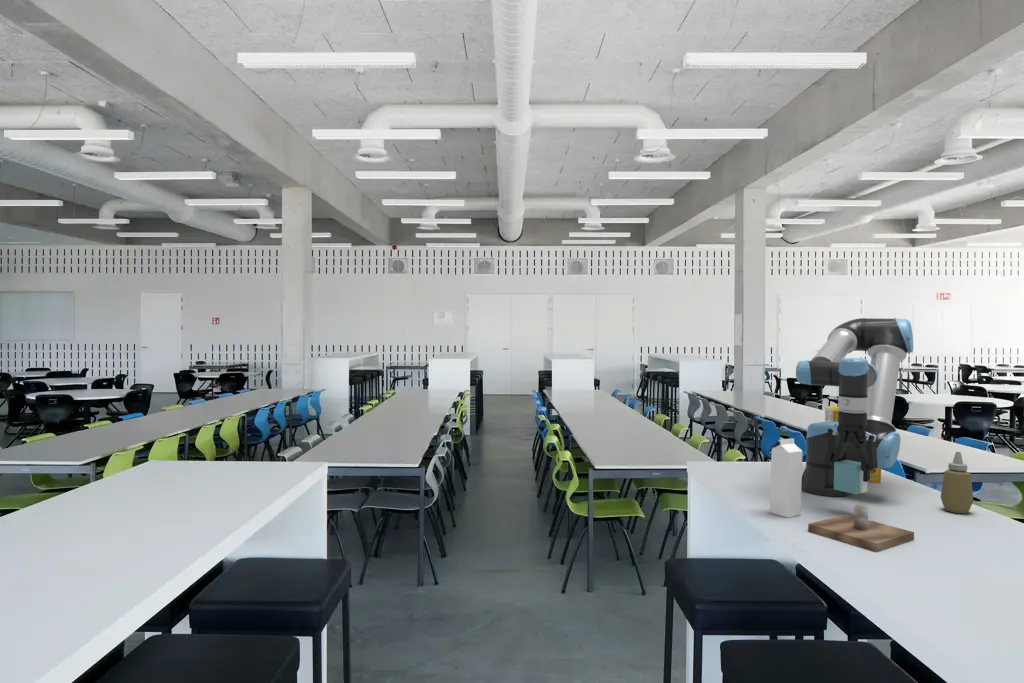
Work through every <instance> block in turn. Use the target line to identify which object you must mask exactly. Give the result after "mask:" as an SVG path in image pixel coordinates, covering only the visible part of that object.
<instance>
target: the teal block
mask: <svg viewBox="0 0 1024 683" xmlns="http://www.w3.org/2000/svg"><path fill="white" fill-rule="evenodd" d="M861 469H862V466H861V462H856V461H851V460H843V461H838V462H834V489H835V490H839V491H843V492H848V493H850V494H853V495H859V494H860V493H859V479H860V470H861ZM867 492H869V482H867Z"/></svg>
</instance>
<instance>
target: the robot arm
mask: <svg viewBox="0 0 1024 683" xmlns="http://www.w3.org/2000/svg"><path fill="white" fill-rule="evenodd" d="M913 335H914V334H913V329H912V324H911V322H910V320H908V319H906V318H897V317H894V318H873V317H872V318H870V317H869V318H865V317H862V318H860V317H859V318H854V319H851V320H848V321H846V322H843V323H841V324H839V325H837V326H836V327H834V328H833V329H832V330H831V331H830V332H829V333H828V337H827V339H826V340H827V341H826V342H825V343H824V345H823V346H822V347H821V348H820V349H819V350H818V352H817V353H816V354H815V355H814V356H813V357H812V359H811V360H808V359H807V360H806V359H805V360H800V361H798V362H797V364H796V367H795V378H796V381H797V382H798V384H801V385H809V386H827V387H838V398H837V399H838V400H837V401H838V404H837V405H838V406H837V407H838V408H839V409H840V411H839V412H838V422H825V421H819V422H812V423H810V424H809V425H808V426H807V430H806V431H807V432H806V437H805V438H806V451H805V454H806V455H805V458H806V459H805V467H804V470H803V473H802V484H801V491H802V492H803V491H804V492H806V493H809V494H812V495H813V494H814V495H818V496H826V497H846V496H849V495H850V494H851V493H848V492H843V491H839V490H835V489H834V462H838V461H843V460H851V461H856V462H861V466H862V469H861V470H860V479H859V494H863V493H868V491H867V482H868V481H870V471H871V470H873V469H877V468H878V467H881V469H882V468H883V469H890V468H892V467H893V466H894V465H895V463H896V462H897V460H898V456H899V452H900V449H901V448H900V447H901V446H900V445H901V434H900V433H899V432H897V428H896V427H895V425H893V424H892V420H893V414H894V407H895V400H896V393H897V386H898V380H899V379H898V378H899V371H900V365H901V362H903V361H904V360H905V359H906V358H907V355H908V354H911V353H913V351H914V337H913ZM859 351H860V352H866V353H867V356H869V358H870V362H869V361H868V359H867V358H861V357H858V358H857V357H846V356H848V355H849V354H850V353H852V352H859ZM868 483H869V482H868Z"/></svg>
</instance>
